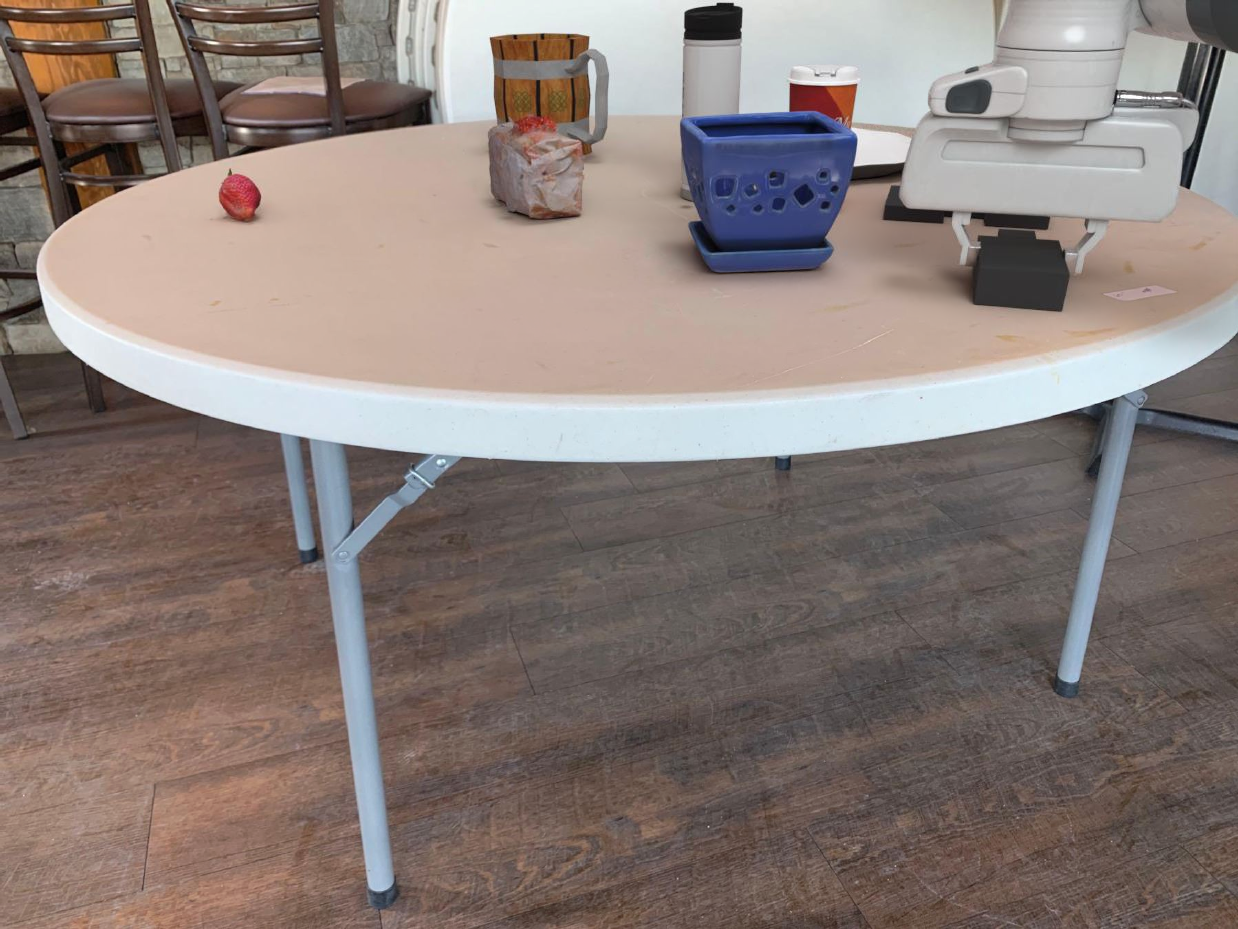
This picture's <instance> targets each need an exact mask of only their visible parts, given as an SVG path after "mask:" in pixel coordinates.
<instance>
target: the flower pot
mask: <svg viewBox="0 0 1238 929" xmlns="http://www.w3.org/2000/svg"><path fill="white" fill-rule="evenodd" d="M679 135H680V145H681V147H682V154H683V161H684V166H685V171H686V177H687V181H688V185H689V188H690V192H691V195H692V198H693V201H692V202H693V204H694V206H695V209H696V213H697V214H698V217H699V219H700V220H692V221H691V220H690V221H689V222H688V224H687V226H688V230H689V233H690V235H691V237H692V239H693V241H694V243H695V245H696V247H697V249H698V251H699V254H700V255H701V258H702V259H703V261H704V263H705V264H706V266H707V267H708V268H709V269H710V270H711V271H712V272H714V273H744V272H745V273H746V272H772V271H794V270H796V271H797V270H812V269H816V268H818V267H820V266H822V265H823V264H824V263H825V262H826V261H827V260H829V259H830V258H831V256H832V255H833V253H834V251H835V248H834V245H833V244H832V243H830V241H829V240H828V239H827V238H826V237H827V235H828V234H829V233H830V230H831V229H832V227H833V225H834V223H835V222H836V219H837V217H838V216H839V213H840V212H841V209H842V207H843V204H844V201H845V198H846V195H847V193H848V191H849V186H850V183H851V180H852V179H851V175H852V171H853V167H854V162H855V157H856V151H857V143H858V138H857V135H856V134H855V133H854V132H853V131H852V130H851V129H849V128H848V127H846V126H844V125H843V124H841V123H839V122H837V121H835V120H833V119H831V118H830V117H828V116H826V115H824V114H822V113H819V112H817V111H798V112H789V111H777V112H776V111H775V112H774V111H773V112H751V113H739V114H730V115H714V116H701V117H689V118H683V119H682V118H681V119H680V121H679ZM773 171H775V173H776V176H775V177H771V176H770V174H771V172H773Z"/></svg>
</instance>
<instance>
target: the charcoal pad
mask: <svg viewBox="0 0 1238 929" xmlns="http://www.w3.org/2000/svg"><path fill="white" fill-rule="evenodd" d="M899 190H900V185H895V184H893V185H890V187H889V190H888V194H887V197H886V201H885V204H884V211H883V218H882V219H883V220H887V221H904V222H917V223H918V222H919V223H921V222H922V223H937V224H943V223H944V221H945V217H951V218H952V214H953V211H944V210H927V209H910V208H907V207H906V206H905V205H904V204H903V202H902V201H901V199H900V198H899ZM970 219H983V223H984V224H983V225H984V226H985V227H1002V228H1016V229H1017V228H1019V229H1034V230H1049V226H1050V221H1051V217H1047V216H1030V215H1013V214H996V213H979V212H972V213H971V218H970Z"/></svg>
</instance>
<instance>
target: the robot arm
mask: <svg viewBox="0 0 1238 929" xmlns="http://www.w3.org/2000/svg"><path fill="white" fill-rule="evenodd" d="M1133 31H1135V32H1137V33H1141V34H1144V35H1146V36H1147V35H1148V36H1152V37H1159V38H1160V37H1161V38H1167V39H1169V40H1174V41H1177V42H1185V43H1195V44H1202V45H1203V44H1204V45H1209V46H1211V47H1214V48H1217V49H1220V50H1224V51H1227V52H1231V53H1234V54H1237V55H1238V0H1007V9H1006V16H1005V18H1004V22H1003V24H1002V26H1001V29H1000V31H999V34H998V36H997V39H996V42H995V49H994V56H993V60H992V61H990V62H988V63H984V64H981V65H980V64H979V65H975V66H972V67H968V68H966V69H963V70H960V71H956V72H952V73H948V74H945V75H942V76H940V77H938V78H936V79H935V80H934V81H933V82H931V84H930V87H929V89H928V94H927V106H928V108H929V111H928V112H926V113H925V114H924V115H922V117H921V118H920V120H919V122H918V123H917V125H916V127H915V129H914V132H913V133H912V136H911V138H912V139H911V143H910V146H909V149H908V153H907V156H906V160H905V164H904V169H902V174H901V179H900V184H899V186H900V190H899V198H900V199H901V201H902V202H903V204H904V205H905V206H906V207H907V208H910V209H927V210H944V211H953V214H952V217H951V227H952V229H953V231H954V234H955V236H956V239H957V241H958V243H959V245H960V247H961V248H960V253H959V260H958V267H970V268H973V267H977V263H978V256H979V253H980V250H981V242H977V240H976V241H974V240H971V238H970V236H969V234H968V233H969V232H968V231H967V229H966V226H969V225H970V224H971V219H972V218H971V213H972V212H979V213H996V214H1013V215H1030V216H1047V217H1050V218H1066V219H1082V220H1084V224H1083V226H1084V228H1085V231H1086V233H1085V234H1084V235H1083V237H1082V238H1081V239H1079V241H1078V242H1077V244H1076V245H1075V246H1074V247H1068V246H1067V247H1065V246H1064V247H1063V248H1062V251H1063V255H1064V259H1065V260H1066V263H1067V266H1068V269H1069V272H1070V275H1076V276H1080V275H1081V274H1082V272H1083V267H1084V262H1085V258H1086V255H1088V254H1089V253H1090V252H1091V251H1092V249H1094V247H1095V246H1096V245H1097V244H1098V243H1099V242H1100V241H1101V240H1102V239H1103V238H1104V237H1105V236H1106V234H1107V230H1108V225H1109V221H1118V222H1134V223H1151V224H1160V223H1162V222H1164V220H1166V219H1167V218H1168V217H1170V215H1173V213H1174V212H1175V210H1176V207H1177V203H1178V198H1179V194H1180V186H1181V179H1182V171H1183V159H1184V158H1183V157H1184V153H1186V152H1187V151H1188V150H1189V149H1190V147H1192V144H1193V143H1194V141H1195V138H1196V134H1197V130H1198V126H1199V124H1200V111H1199V108H1198V106H1197V105H1196V104H1195V103H1194V101H1192V100H1190V99H1189V98H1186V97H1184V96H1183V93H1182V92H1177V91H1170V90H1167V91H1162V92H1154V91H1152V92H1151V91H1145V90H1144V91H1143V90H1132V89H1131V90H1130V89H1129V90H1128V89H1118V84H1119V78H1120V75H1121V68H1122V66H1123V60H1124V56H1125V53H1126V52H1125V51H1126V46H1127V41H1128V37H1129V35H1130V34H1131V32H1133ZM1181 105H1185V106H1186V107H1180V106H1181Z"/></svg>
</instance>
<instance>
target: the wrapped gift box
mask: <svg viewBox="0 0 1238 929" xmlns="http://www.w3.org/2000/svg"><path fill="white" fill-rule="evenodd" d="M509 119H510V121H511V122H507V123H504V124H500V125H497V124H496V125H495V126H492V127H491V128H490V129H488V132H487V138H488V141H487V146H488V159H489V160H488V161H489V166H488V171H489V180H490V192H491V194H492V196H493V198H494V199H496V200H500V201H502V202H504V203H505V204H506V210H507V212H512V213H520V214H522V215H526V216H528V217H529V218H531V219H536V220H547V219H559V218H569V217H573V216H575V217H576V216H580V215H582V213H581V212H582V210H583V205H582V204H583V180H585V179H586V178H585V174H584V172H583V171H584V169H585V166H584V155H583V153H582V143H581V141H579V140H574V139H571V138H568V137H566V136H563V135H560V134H558V131H559V130H558V129H557V124H556V123H554V122H553V121H551V120H552V118H551V117H545V116H544V117H543V118H540V117H535V116H534V114H533V113H532V114H529V115H528V116H526V117H524V118H522V119H519V120H518V121H514V122H513V121H512V119H511V118H510V117H509Z"/></svg>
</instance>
